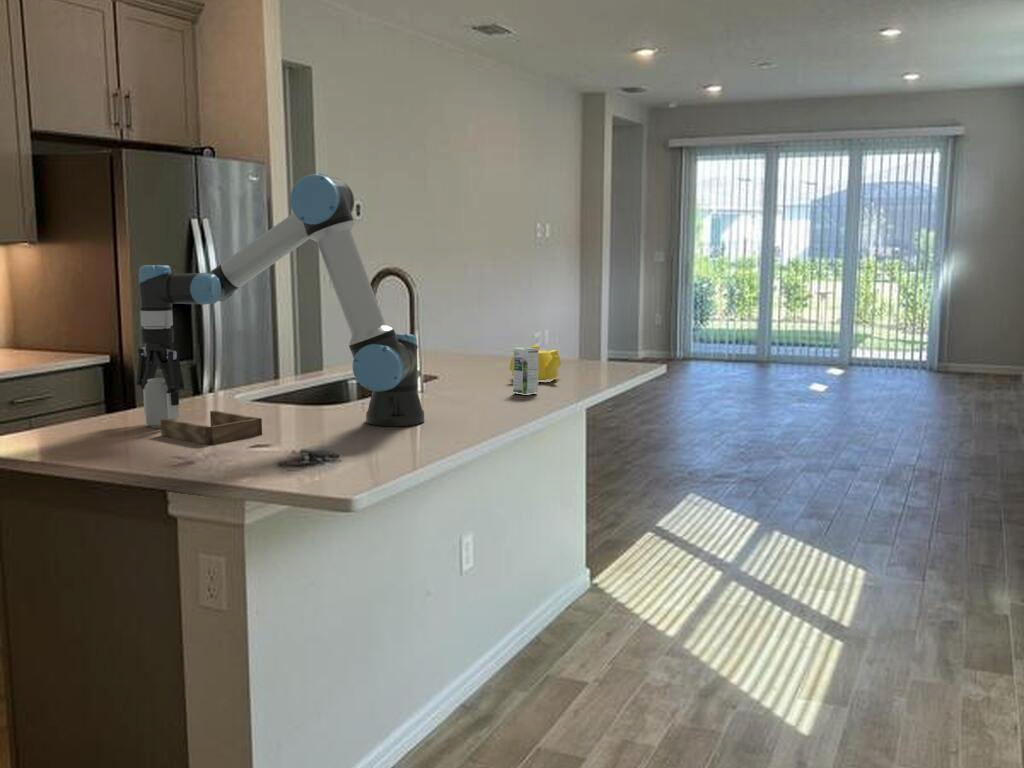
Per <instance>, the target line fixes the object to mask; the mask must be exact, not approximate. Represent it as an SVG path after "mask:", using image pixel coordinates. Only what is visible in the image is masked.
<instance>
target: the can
mask: <svg viewBox="0 0 1024 768" xmlns="http://www.w3.org/2000/svg"><path fill="white" fill-rule="evenodd" d="M147 382H148V383H147V384H146V385H145V406H146V415H145V420H146V421H145V422H146V425H148V426H149V428H154V429H161V419H168V412H167V391H169V390H168V387H167V384H166V382H165V379H164V377H156V378H155V377H154V379H148V380H147ZM172 388H173V386H172ZM171 420H176V421H179V420H178V418H173V419H171Z"/></svg>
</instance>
